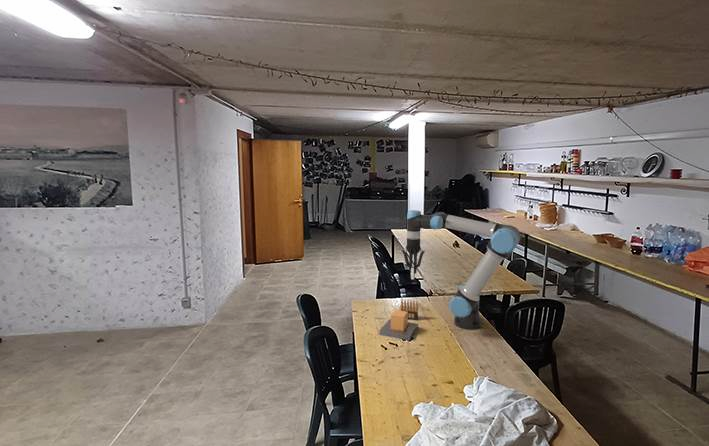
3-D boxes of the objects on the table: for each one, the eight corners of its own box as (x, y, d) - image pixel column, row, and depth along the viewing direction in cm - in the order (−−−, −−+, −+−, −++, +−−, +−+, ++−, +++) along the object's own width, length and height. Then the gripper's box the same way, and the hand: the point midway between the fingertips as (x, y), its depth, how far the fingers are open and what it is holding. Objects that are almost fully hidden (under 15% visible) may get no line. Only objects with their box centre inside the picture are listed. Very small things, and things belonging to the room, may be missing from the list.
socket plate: (418, 327, 221) (418, 323, 220) (409, 340, 205) (409, 336, 205) (389, 322, 228) (389, 319, 227) (379, 334, 212) (379, 330, 212)
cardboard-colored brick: (407, 328, 219) (407, 311, 217) (403, 334, 211) (403, 317, 210) (395, 326, 221) (395, 309, 220) (390, 332, 214) (390, 314, 213)
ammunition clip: (418, 319, 233) (418, 300, 231) (417, 320, 231) (418, 301, 229) (400, 317, 236) (400, 297, 234) (399, 318, 235) (400, 299, 233)
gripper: (426, 237, 222) (425, 278, 225) (404, 236, 227) (403, 275, 230) (423, 240, 215) (422, 281, 218) (400, 238, 220) (399, 279, 224)
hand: (412, 278), depth 224 cm, fingers closed
